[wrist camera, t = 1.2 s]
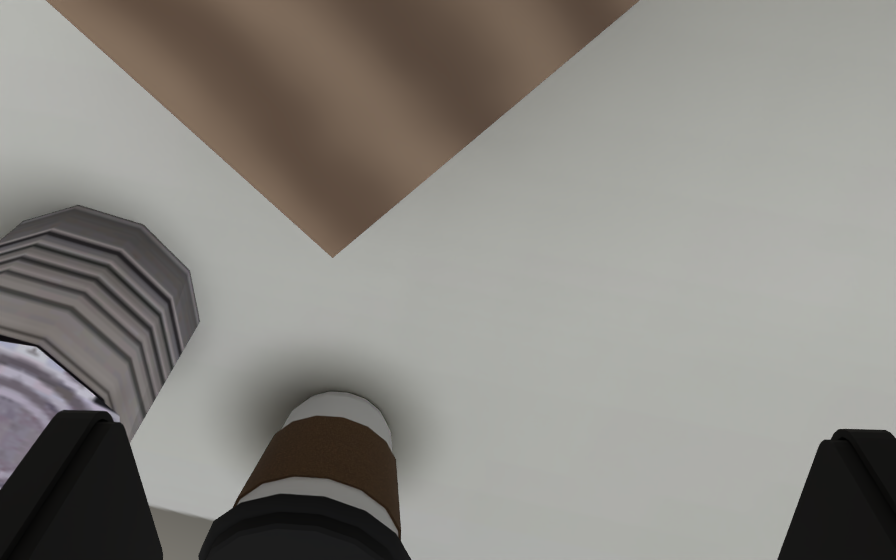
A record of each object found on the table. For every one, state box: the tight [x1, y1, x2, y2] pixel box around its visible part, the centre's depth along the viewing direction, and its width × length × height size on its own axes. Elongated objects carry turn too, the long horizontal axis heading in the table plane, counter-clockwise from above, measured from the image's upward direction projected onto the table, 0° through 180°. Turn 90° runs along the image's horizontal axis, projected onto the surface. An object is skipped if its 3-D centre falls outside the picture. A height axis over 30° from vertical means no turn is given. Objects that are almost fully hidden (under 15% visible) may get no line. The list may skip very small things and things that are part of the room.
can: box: [0, 205, 200, 489], centre depth 37 cm, size 11×11×12 cm
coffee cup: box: [199, 391, 411, 560], centre depth 41 cm, size 11×11×12 cm
